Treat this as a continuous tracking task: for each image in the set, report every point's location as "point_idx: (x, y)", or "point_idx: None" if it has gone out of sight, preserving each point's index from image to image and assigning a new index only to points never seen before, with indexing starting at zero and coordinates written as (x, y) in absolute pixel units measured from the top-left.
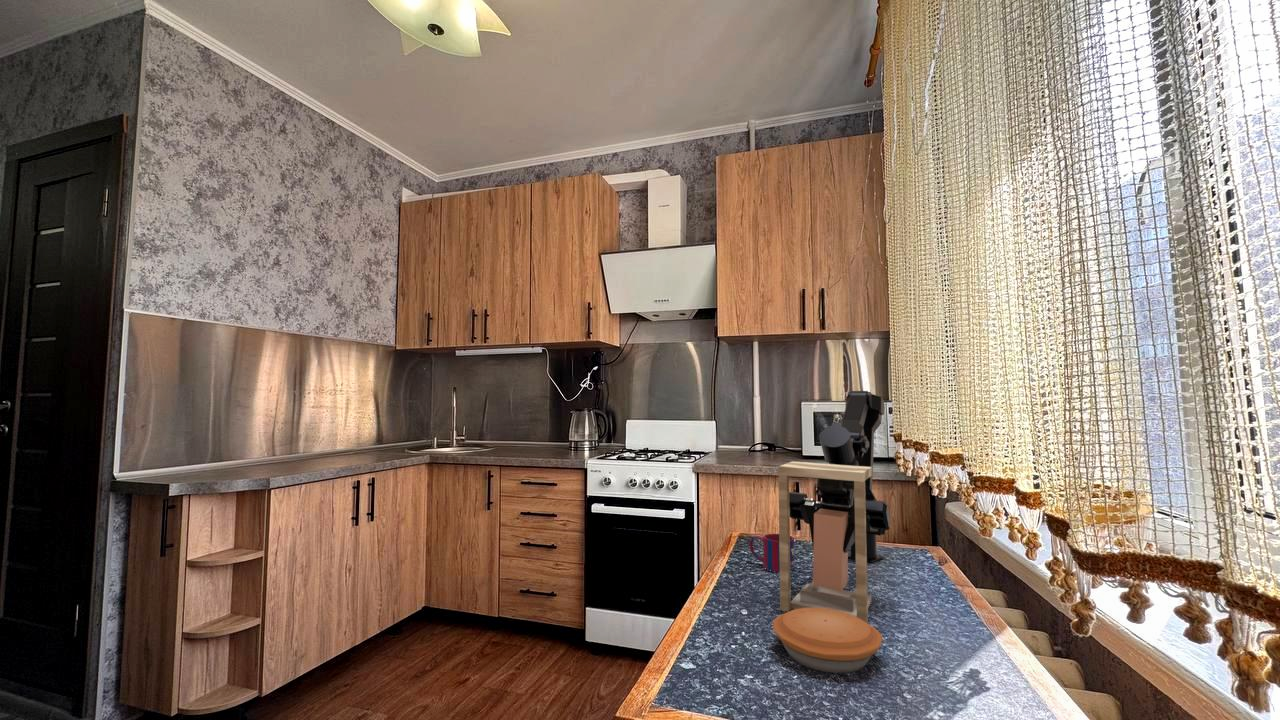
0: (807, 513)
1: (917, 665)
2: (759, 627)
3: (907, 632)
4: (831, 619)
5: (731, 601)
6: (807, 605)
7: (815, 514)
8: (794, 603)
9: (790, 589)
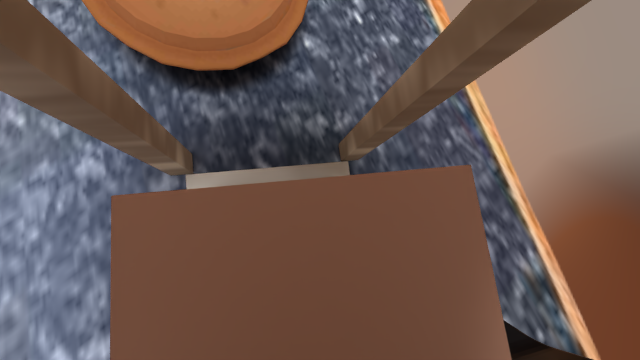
0: (568, 357)
1: None
2: (348, 50)
3: (75, 193)
4: None
5: (443, 130)
6: (311, 169)
7: (449, 170)
8: (338, 162)
9: (354, 148)
